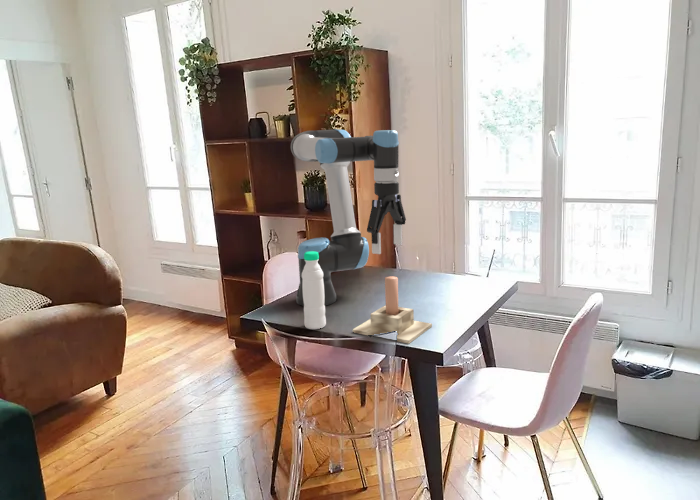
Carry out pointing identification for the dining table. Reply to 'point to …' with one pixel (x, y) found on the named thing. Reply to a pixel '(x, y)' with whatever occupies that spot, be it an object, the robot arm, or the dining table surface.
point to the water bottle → (313, 292)
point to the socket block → (394, 324)
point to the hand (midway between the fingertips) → (387, 248)
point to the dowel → (391, 295)
